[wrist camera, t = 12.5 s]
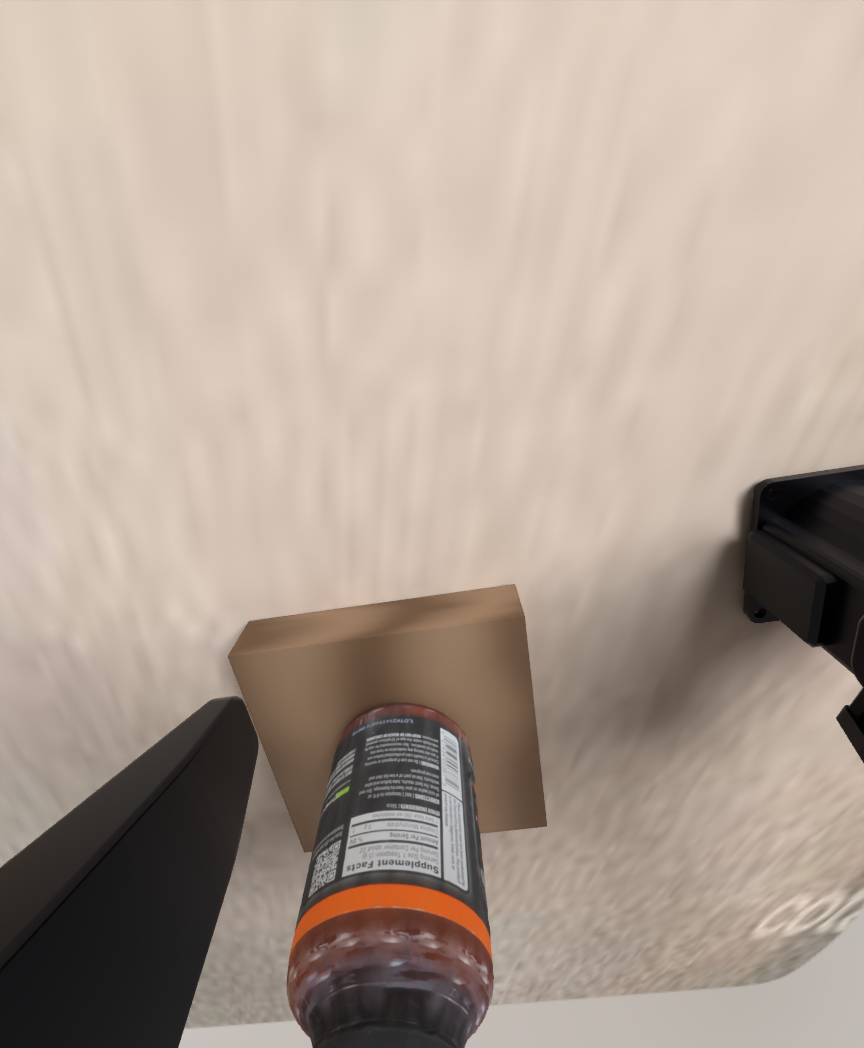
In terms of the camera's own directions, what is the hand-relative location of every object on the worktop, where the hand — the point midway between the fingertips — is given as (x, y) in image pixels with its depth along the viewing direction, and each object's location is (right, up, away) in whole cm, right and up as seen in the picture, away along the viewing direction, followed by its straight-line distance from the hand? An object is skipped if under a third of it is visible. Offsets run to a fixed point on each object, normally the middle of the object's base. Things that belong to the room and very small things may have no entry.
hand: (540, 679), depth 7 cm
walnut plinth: (-3, -7, +17) cm, 18 cm away
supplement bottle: (-3, -8, +15) cm, 17 cm away
